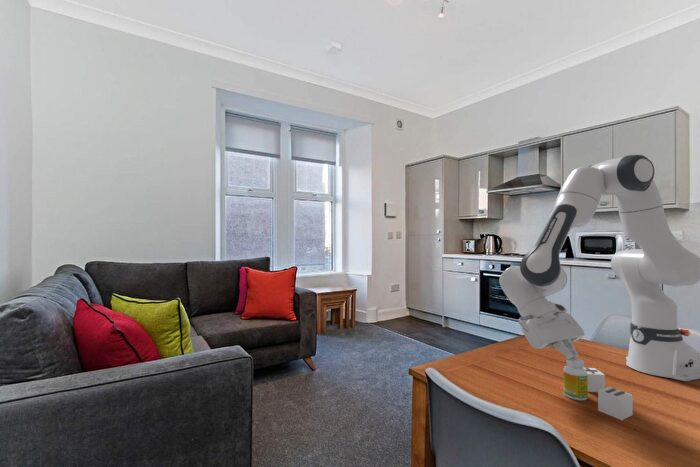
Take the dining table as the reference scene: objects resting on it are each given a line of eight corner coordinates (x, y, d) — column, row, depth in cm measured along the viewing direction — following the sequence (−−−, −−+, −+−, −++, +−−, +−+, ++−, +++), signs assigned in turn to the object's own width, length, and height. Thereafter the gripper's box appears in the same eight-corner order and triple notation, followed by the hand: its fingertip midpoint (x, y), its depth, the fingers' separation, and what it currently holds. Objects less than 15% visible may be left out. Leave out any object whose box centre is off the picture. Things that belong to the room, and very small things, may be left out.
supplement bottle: (580, 402, 88) (579, 365, 88) (559, 394, 92) (558, 358, 93) (592, 398, 90) (591, 361, 90) (570, 390, 95) (570, 355, 95)
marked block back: (594, 385, 98) (594, 367, 98) (605, 393, 93) (604, 374, 93) (576, 384, 99) (575, 366, 99) (585, 391, 94) (585, 373, 94)
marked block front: (609, 406, 86) (609, 385, 86) (632, 415, 82) (632, 393, 82) (598, 410, 84) (598, 389, 84) (621, 420, 79) (621, 398, 79)
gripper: (522, 311, 94) (558, 357, 85) (567, 305, 103) (603, 346, 94) (509, 323, 98) (541, 369, 89) (553, 316, 107) (586, 357, 98)
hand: (573, 357), depth 92 cm, fingers closed, pressing on supplement bottle
